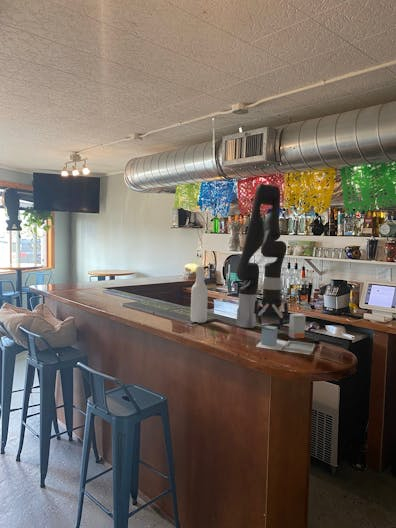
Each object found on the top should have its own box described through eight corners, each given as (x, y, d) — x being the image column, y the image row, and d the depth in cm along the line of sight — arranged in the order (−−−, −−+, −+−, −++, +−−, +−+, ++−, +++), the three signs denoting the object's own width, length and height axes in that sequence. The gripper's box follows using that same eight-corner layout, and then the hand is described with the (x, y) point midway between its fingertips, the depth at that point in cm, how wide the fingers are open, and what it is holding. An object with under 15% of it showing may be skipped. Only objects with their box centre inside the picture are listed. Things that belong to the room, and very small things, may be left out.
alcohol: (187, 321, 213) (189, 266, 211) (195, 318, 221) (197, 265, 218) (202, 324, 209) (204, 267, 207) (209, 320, 217) (211, 266, 214)
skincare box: (292, 341, 180) (294, 315, 179) (288, 339, 185) (289, 313, 184) (304, 341, 182) (306, 315, 181) (299, 338, 186) (301, 313, 185)
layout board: (255, 350, 165) (256, 334, 165) (263, 341, 179) (264, 327, 179) (311, 358, 157) (312, 342, 156) (315, 348, 170) (316, 333, 170)
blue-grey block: (260, 344, 169) (261, 328, 168) (264, 341, 174) (264, 325, 174) (274, 346, 167) (274, 329, 166) (276, 342, 172) (277, 326, 171)
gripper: (290, 288, 169) (288, 325, 170) (257, 285, 175) (256, 321, 176) (287, 289, 162) (285, 329, 163) (253, 287, 168) (252, 325, 169)
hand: (270, 325), depth 170 cm, fingers open, 8 cm apart
